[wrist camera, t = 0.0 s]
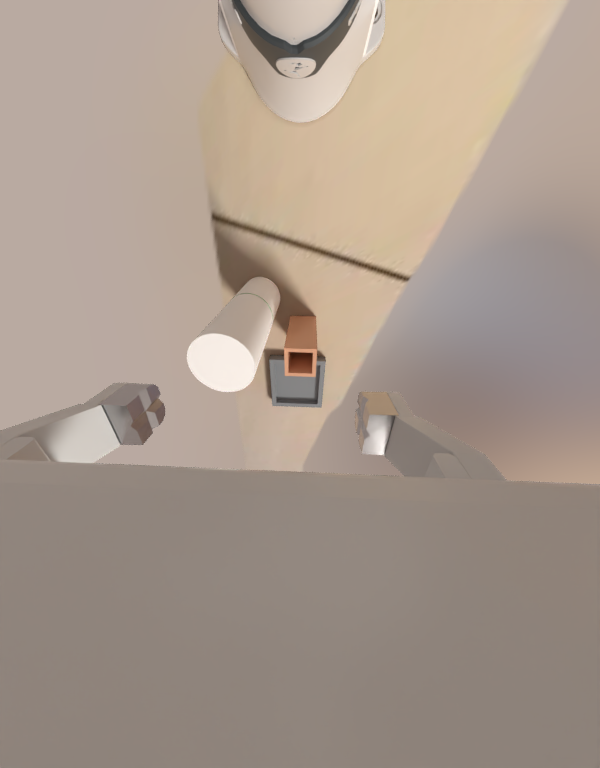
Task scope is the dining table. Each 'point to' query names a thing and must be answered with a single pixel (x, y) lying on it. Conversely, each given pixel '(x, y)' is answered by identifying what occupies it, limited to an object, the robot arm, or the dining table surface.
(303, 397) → the tray
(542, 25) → the dining table surface
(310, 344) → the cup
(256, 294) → the cylindrical container
